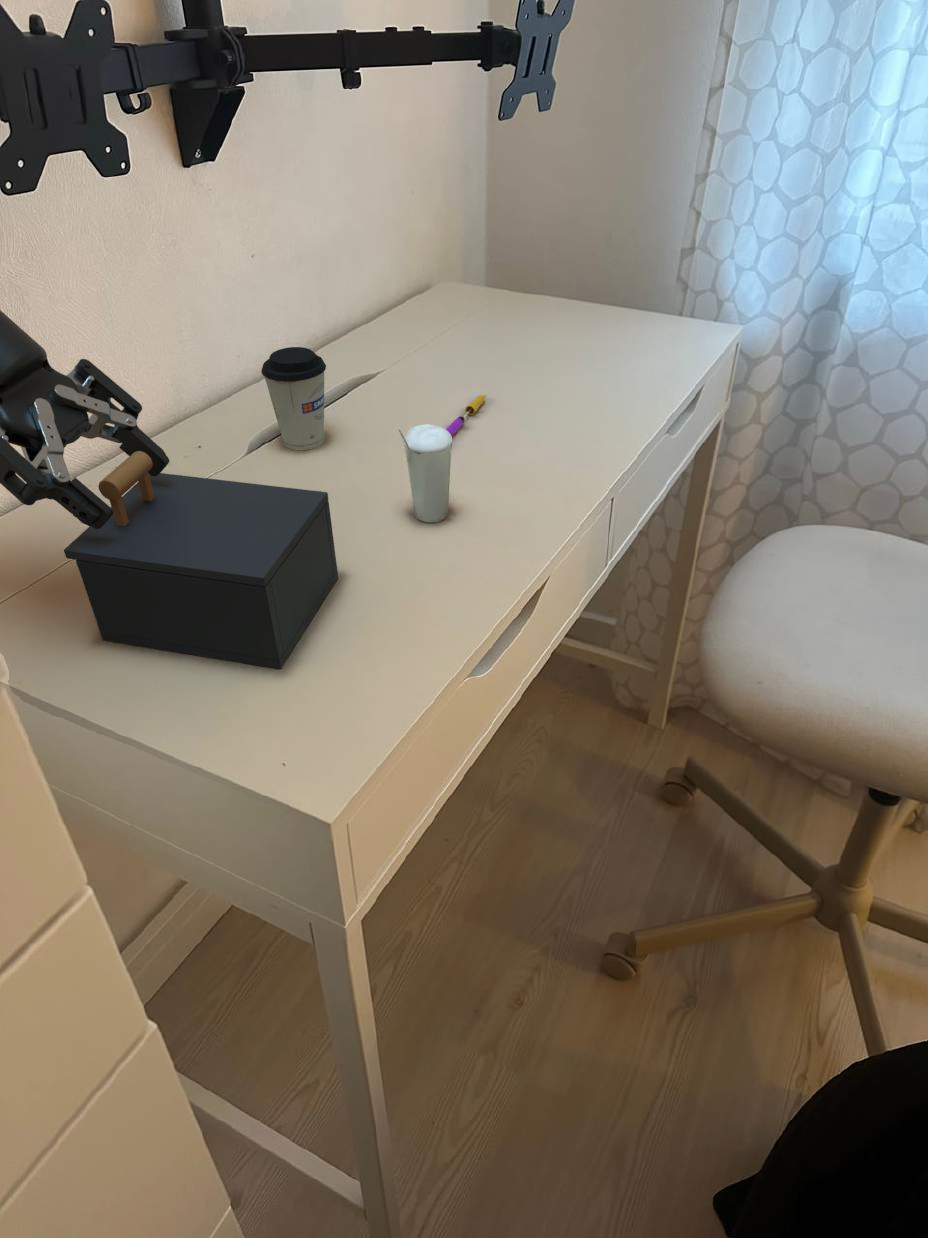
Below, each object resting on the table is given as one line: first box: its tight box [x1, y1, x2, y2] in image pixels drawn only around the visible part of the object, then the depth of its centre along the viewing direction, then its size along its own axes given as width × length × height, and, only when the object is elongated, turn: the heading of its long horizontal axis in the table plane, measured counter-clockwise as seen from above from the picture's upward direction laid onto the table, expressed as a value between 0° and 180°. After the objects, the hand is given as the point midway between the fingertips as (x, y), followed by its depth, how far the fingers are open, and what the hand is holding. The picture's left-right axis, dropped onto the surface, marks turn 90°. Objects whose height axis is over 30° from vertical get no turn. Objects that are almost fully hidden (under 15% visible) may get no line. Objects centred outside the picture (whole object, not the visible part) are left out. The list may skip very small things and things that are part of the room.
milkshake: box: [397, 423, 453, 524], centre depth 85 cm, size 5×5×10 cm
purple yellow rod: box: [445, 394, 487, 436], centre depth 103 cm, size 3×1×16 cm
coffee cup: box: [260, 346, 327, 451], centre depth 98 cm, size 7×7×10 cm
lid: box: [63, 451, 329, 586], centre depth 70 cm, size 17×13×5 cm
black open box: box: [75, 501, 339, 670], centre depth 74 cm, size 16×13×8 cm
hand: (136, 494), depth 71 cm, fingers open, 8 cm apart
